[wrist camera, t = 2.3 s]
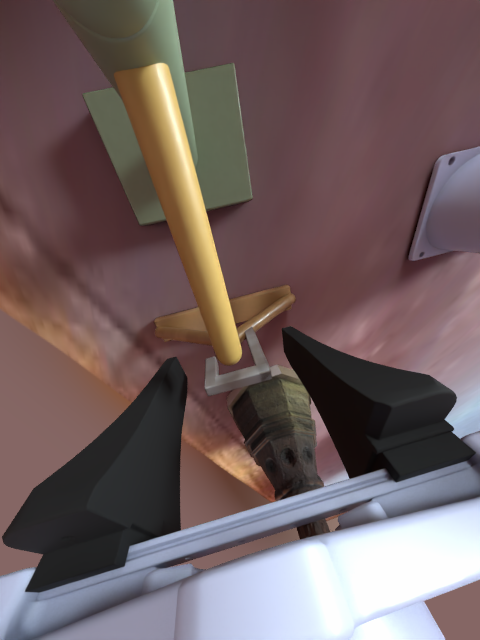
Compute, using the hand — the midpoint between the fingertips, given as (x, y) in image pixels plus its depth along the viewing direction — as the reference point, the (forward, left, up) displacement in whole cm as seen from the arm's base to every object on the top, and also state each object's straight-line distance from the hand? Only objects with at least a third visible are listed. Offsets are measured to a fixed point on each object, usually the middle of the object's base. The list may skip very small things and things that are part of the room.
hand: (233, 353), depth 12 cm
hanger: (0, 0, -6) cm, 6 cm away
